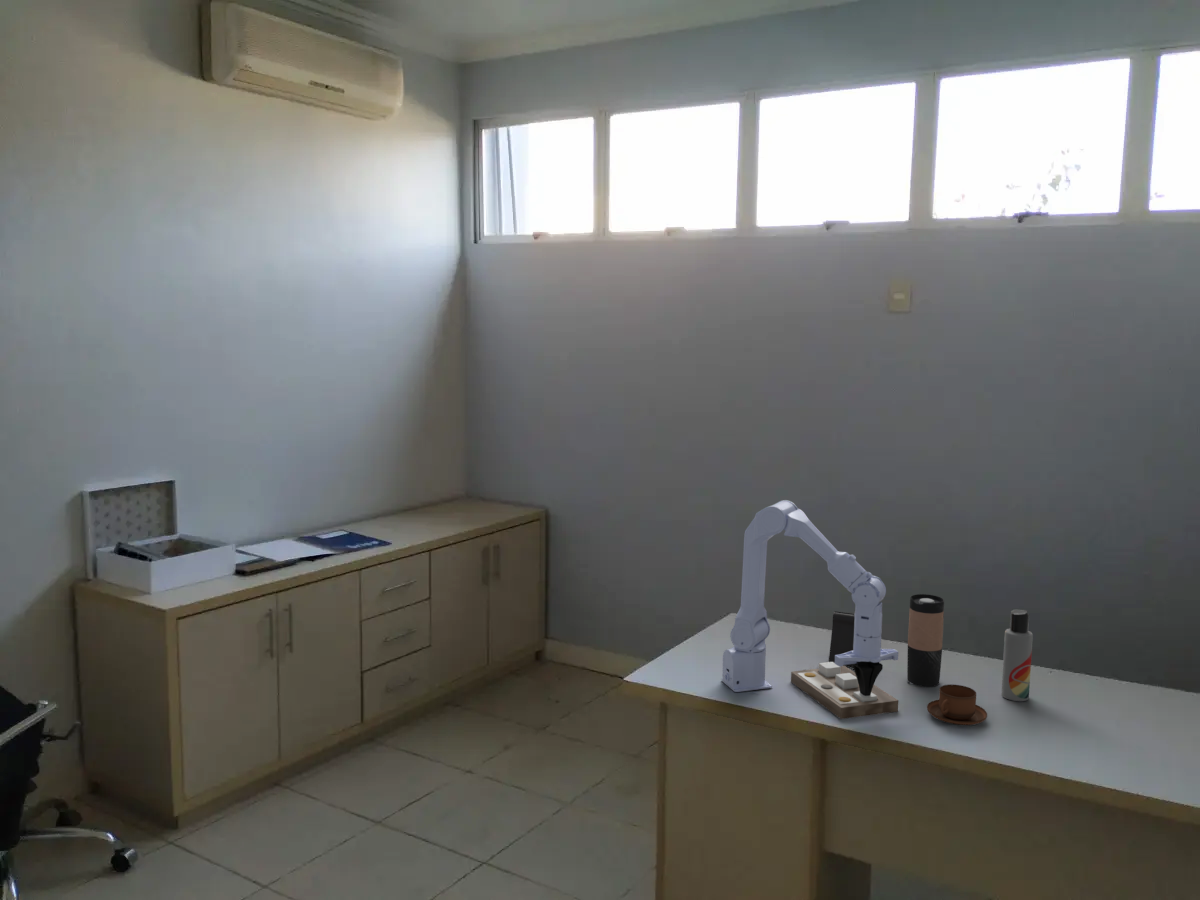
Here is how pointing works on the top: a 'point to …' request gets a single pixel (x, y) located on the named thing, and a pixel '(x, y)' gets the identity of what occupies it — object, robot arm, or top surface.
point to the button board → (842, 695)
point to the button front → (864, 697)
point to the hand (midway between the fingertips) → (865, 693)
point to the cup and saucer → (957, 706)
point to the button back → (829, 669)
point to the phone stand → (842, 635)
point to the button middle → (846, 681)
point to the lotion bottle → (1017, 657)
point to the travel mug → (925, 640)
